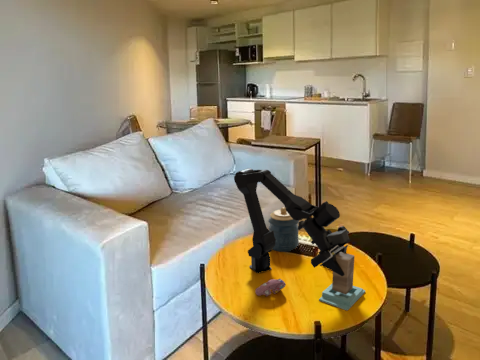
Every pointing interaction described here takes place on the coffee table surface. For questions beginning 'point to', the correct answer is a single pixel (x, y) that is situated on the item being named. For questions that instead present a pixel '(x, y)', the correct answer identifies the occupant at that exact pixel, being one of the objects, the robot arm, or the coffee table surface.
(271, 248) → the robot arm
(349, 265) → the block
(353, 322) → the coffee table surface
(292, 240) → the canister
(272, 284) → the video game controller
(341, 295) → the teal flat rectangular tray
